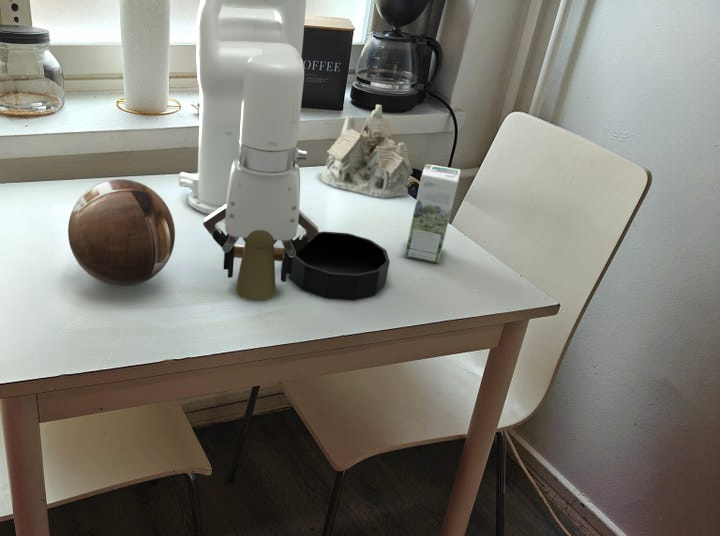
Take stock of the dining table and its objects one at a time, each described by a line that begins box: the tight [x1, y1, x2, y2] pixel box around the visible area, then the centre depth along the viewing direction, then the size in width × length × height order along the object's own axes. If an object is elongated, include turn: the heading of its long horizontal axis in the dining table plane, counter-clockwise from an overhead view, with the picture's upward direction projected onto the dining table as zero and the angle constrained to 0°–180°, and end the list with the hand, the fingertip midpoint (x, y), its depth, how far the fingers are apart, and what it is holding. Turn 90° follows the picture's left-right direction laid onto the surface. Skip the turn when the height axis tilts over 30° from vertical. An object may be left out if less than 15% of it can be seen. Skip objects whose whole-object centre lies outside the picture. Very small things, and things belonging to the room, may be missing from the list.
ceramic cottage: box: [319, 104, 413, 199], centre depth 142 cm, size 16×16×15 cm
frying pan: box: [234, 231, 391, 301], centre depth 110 cm, size 25×15×4 cm, turn 88°
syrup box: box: [404, 163, 462, 264], centre depth 116 cm, size 6×6×14 cm
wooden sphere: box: [67, 178, 176, 287], centre depth 101 cm, size 15×15×15 cm
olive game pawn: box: [234, 230, 278, 302], centre depth 103 cm, size 6×6×11 cm
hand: (256, 274), depth 104 cm, fingers open, 7 cm apart
